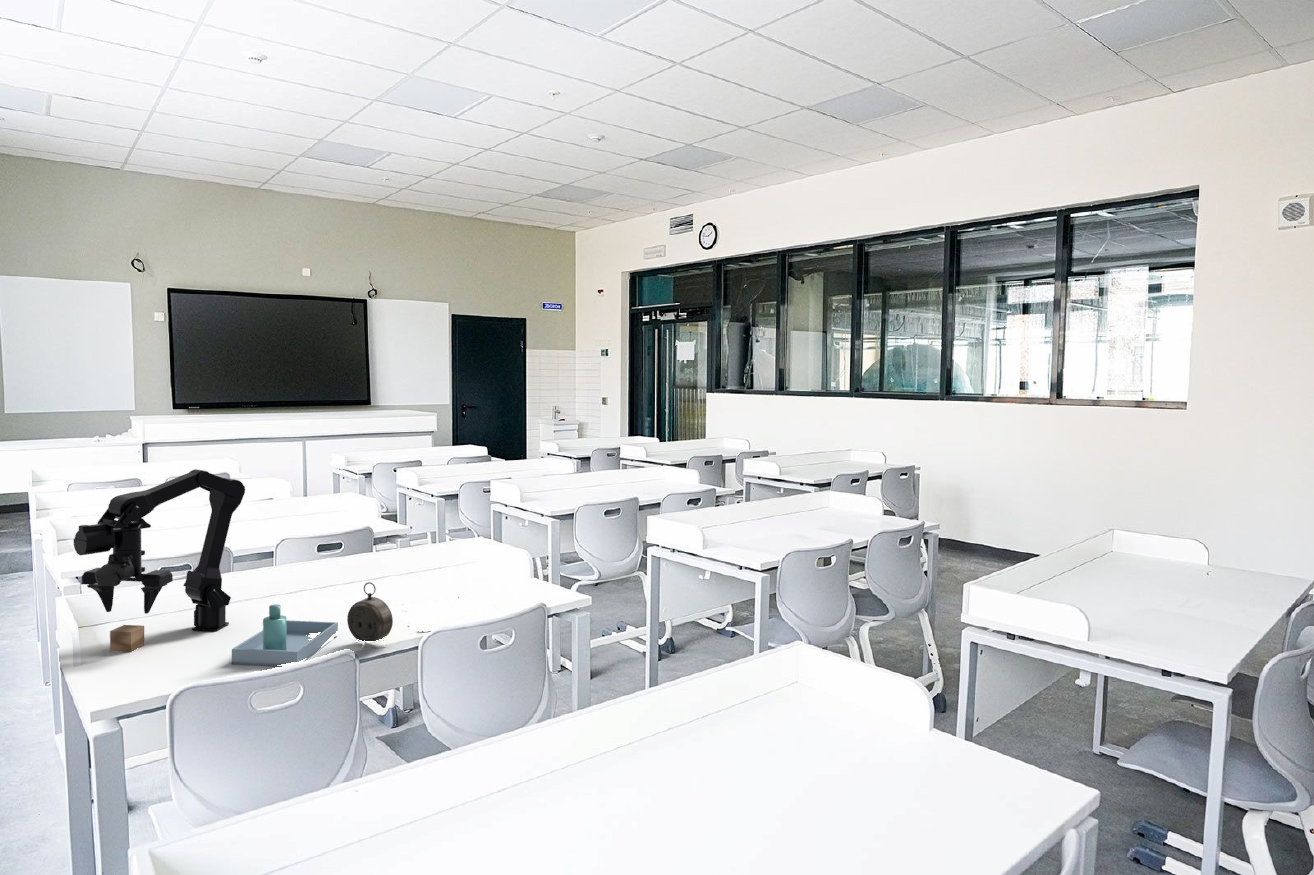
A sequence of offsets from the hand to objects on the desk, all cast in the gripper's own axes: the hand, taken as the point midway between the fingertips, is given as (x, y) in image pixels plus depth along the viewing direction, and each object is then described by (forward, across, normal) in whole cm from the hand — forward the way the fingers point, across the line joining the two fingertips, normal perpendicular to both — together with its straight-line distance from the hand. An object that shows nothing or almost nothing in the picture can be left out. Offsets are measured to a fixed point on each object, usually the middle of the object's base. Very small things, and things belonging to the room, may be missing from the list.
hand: (127, 612), depth 196 cm
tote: (+9, +37, +4) cm, 38 cm away
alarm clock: (+9, +55, +9) cm, 56 cm away
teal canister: (+8, +37, -3) cm, 38 cm away
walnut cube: (+9, 0, 0) cm, 9 cm away
